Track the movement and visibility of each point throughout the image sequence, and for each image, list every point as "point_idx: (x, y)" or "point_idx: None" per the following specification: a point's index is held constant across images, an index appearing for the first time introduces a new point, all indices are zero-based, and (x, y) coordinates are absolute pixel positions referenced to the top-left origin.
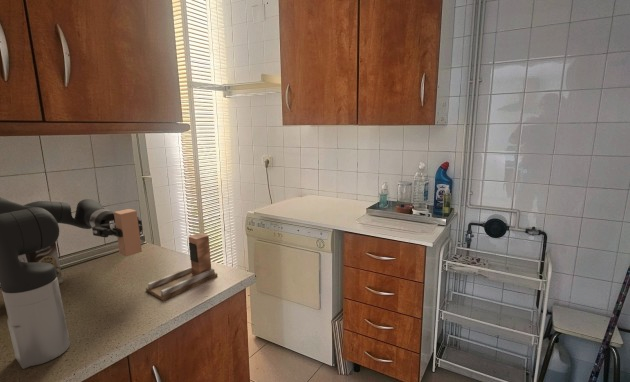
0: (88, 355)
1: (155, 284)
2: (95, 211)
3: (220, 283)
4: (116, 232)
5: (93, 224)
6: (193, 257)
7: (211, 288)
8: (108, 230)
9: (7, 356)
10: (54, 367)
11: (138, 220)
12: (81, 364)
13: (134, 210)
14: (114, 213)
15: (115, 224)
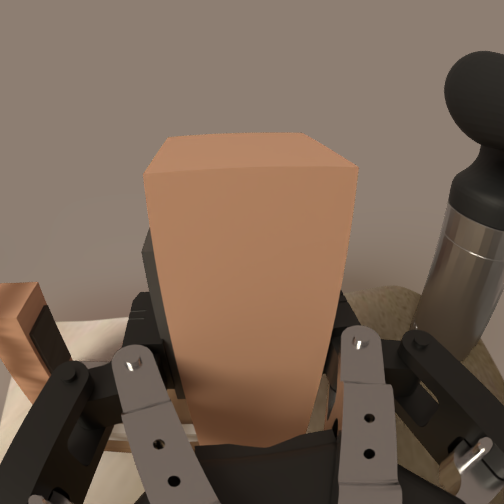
0: (377, 301)
1: None
2: None
3: (86, 341)
4: None
5: None
6: (60, 358)
7: (113, 338)
8: (390, 343)
9: (489, 356)
10: (416, 303)
11: (74, 375)
12: (383, 291)
13: (170, 141)
14: (348, 178)
15: (320, 450)
